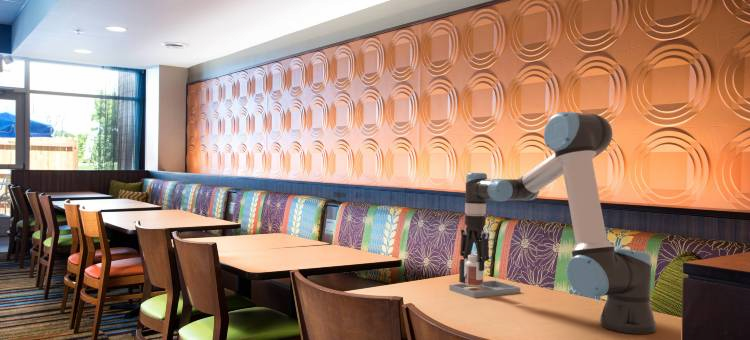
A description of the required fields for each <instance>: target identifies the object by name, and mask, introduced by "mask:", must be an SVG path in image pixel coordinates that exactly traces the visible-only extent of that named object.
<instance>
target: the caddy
mask: <svg viewBox="0 0 750 340" xmlns="http://www.w3.org/2000/svg"><path fill="white" fill-rule="evenodd" d="M465 287H470V286H466V285H465V283H455V284H449V288H448V289H449V291H451V292H454V293H457V294H460V295H463V296H466V297H469V298H473V299H475V298H483V297H484V298H485V297H493V296H501V295H510V294H519V293H521V287H520V286H516V285H514V284H509V283H505V282H501V281H499V280H487V281H483V282H482V286H480V287H477V288H482V289H484V291H477V292H473V291H470V290H466V289H463V288H465Z"/></svg>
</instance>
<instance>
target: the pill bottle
mask: <svg viewBox="0 0 750 340" xmlns="http://www.w3.org/2000/svg"><path fill="white" fill-rule="evenodd" d="M477 261H478V256H477V254H471V255H468V261H467V262H466V272H465V285H466V286H470V287H480V286H482V280H476V264H477Z"/></svg>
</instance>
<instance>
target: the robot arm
mask: <svg viewBox="0 0 750 340" xmlns="http://www.w3.org/2000/svg"><path fill="white" fill-rule="evenodd" d="M545 124H546V125H545V127H544V131H543V140H544V143H545V146H546V147H547V148H548V150H549V149H550V151H554V153H552V154H551V155H550V156H548V157H547V158H546V159H544V160H543V161H541V162H540V163H538V164H537V165H536V166H535V167H533V168H532V169H530V170H529V171H527V173H525V174H524V175H522V176H521V177H519V178H517V179H516V178H515V179H512V178H510V179H509V178H505V179H503V178H488V175H487V172H486V173H485V172H468V173H467V174H466V177H465V178H466V179H465V203H464V213H465V216H464V225H465V226H466V228H465V229H461V230H460V234H461V235H460V236H461V238H460V251H459V254H460V255H459V256H461V257H462V259H464V276H465V272H466V262H467V261H468V255H472V251H473V247H474V244H475V249H476V255H477V256H478V261H477V264H476V280H483V281H484V271H485V263H486V262H488V261H490V252H489V251H490V248H489V243H490V233H489V232H487V233H486V231H485V229H484V227H485V226H486V223H487V222H486V220H487V219H486V218H487V217H486V213H487V200H488V201H495V202H505V201H524V202H526V201H533V200H535V199H536V198H538V195H539V194H540V190H542V189H544V188H545V187H547V186H548V185H549V184H551V183H553V182H554V181H555V180H557V179H559V178H560V177H562V176H563V178H564V181H565V182H564V183H565V190H566V195H567V201H568V206H569V212H570V217H571V224H572V229H573V236H574V240H575V241H574V242H575V244H574V247H572V249H571V255H572V257H571V259H569V260H568V264H567V265H566V270H565V271H566V277H567V281H568V283H569V285H570V286H571V288H572V289H573V290H575V291H576V292H577V293H578V294H579V295H581V296H584V297H588V298H590V297H591V298H593V297H594V298H601V297H604V296H607V297H606V298H607V299H606V301H605V303H604V307H603V309H602V312H601V314H600V317H599V319H600V321H599V324H600V326H601V327H603V328H604V329H608V330H611V331H614V332H619V333H624V334H633V335H648V334H653V333H655V332H656V331H657V328H656V327H657V323H656V320H655V317H654V316H655V315H654V313H653V309H652V306H651V278H652V277H651V276H652V274H651V273H652V272H651V271H652V258H651V255H650V254H649V253H648V252H645V251H640V250H633V249H627V248H620V247H615V246H614V244H613V243H610V241H608V238H607V234H606V233H607V231H606V228H605V223H604V217H603V212H602V205H601V201H600V195H599V190H598V184H597V183H598V182H597V178H596V172H595V167H594V161H593V160H594V158H596V157H598V156H599V155H601V154H602V153H603V152H604V151H606V149H608V147H609V146H610V144H611V142H612V140H613V128H612V125H611V124H610V122H609V121H608V120H607V119H606V118H604V117H603V116H602V115H599V114H593V113H583V112H574V111H561V112H558V113H555V114H553V115H552V116H551V117H550V118H549V119H548V121H547V123H545Z"/></svg>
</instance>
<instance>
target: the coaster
mask: <svg viewBox="0 0 750 340" xmlns="http://www.w3.org/2000/svg"><path fill="white" fill-rule="evenodd" d="M463 289H466V290H470V291H473V292H477V291H484V289H482V288H477V287H465V288H463Z"/></svg>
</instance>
